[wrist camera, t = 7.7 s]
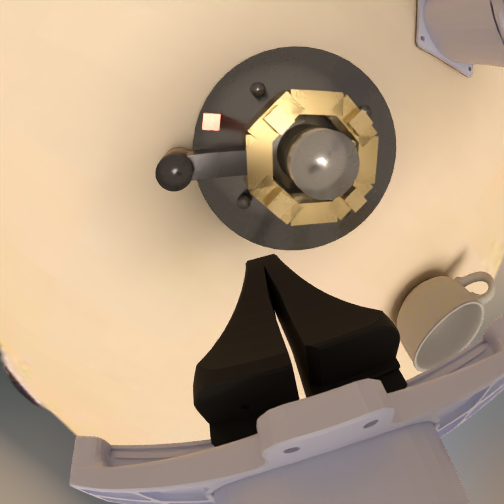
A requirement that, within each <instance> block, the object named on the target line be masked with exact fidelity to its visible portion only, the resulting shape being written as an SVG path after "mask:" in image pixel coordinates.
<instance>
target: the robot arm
mask: <svg viewBox="0 0 504 504" xmlns="http://www.w3.org/2000/svg"><path fill="white" fill-rule="evenodd" d="M421 38H422V40H421ZM416 44H417V46H418V47H419V48H421V49H423V50H424V51H426V52H428V53H430V54H432V55H433V56H435V57H437V58H438V59H440V60H442V61H443V62H445V63H447V64H448V65H450V66H451V67H453V68H454V69H456V70H458V71H459V72H461V73H462V74H463V75H465V76H466V77H472V69H473V64H482V65H492V66H500V67H504V0H418V10H417V35H416ZM468 68H469V69H468ZM275 312H276V315H277V317H278V319H279V322H280V324H281V326H282V329H283V331H284V333H285V335H286V338H287V340H288V342H289V345H290V347H291V350H292V352H293V355H294V359H295V362H296V365H297V368H298V372H299V375H300V378H301V382H302V385H303V388H304V392H305V395H306V398H304V399H301V400H299V395H298V390H297V386H296V381H295V376H294V372H293V367H292V363H291V360H290V357H289V354H288V351H287V348H286V346H285V343H284V340H283V338H282V335H281V332H280V329H279V326H278V323H277V321H276V315H275ZM399 343H400V334H399V331H398V329H397V328H396V326H395V325H394V324H393V322H392V321H391V320H390V319H389V318H388V317H387V316H386V315H385V314H384V313H383V311H380V310H375V309H371V308H366V307H361V306H358V305H355V304H351V303H348V302H345V301H343V300H340V299H338V298H335V297H333V296H331V295H329V294H327V293H325V292H323V291H321V290H319V289H317V288H316V287H314V286H313V285H311V284H309V283H308V282H307V281H305V280H304V279H302V278H301V277H300V276H298V275H297V274H296V273H295V272H293V271H292V270H291V269H290V268H289V267H288V266H286V265H285V264H284V263H283V262H282V261H281V260H280V259H279V258H278V256H277V255H275V254H271V255H268V256H264V257H260V258H257V259H253V260H249V261H247V263H246V272H245V278H244V283H243V287H242V291H241V294H240V297H239V300H238V303H237V305H236V308H235V310H234V313H233V315H232V317H231V319H230V321H229V323H228V325H227V326H226V328H225V330H224V332H223V333H222V335H221V336H220V338H219V339H218V340H217V342H216V343H215V345H214V346H213V347H212V349H211V350H210V351H209V352H208V353H207V354H206V356H205V357H204V358H203V359H202V360H201V361H200V362H199V363H198V364H197V366H196V370H195V376H194V383H193V397H194V406H195V408H196V409H197V411H198V412H199V413H200V414H201V415H202V416H203V417H204V419H205V420H206V421H207V422H208V423H209V424H210V436H211V439H209V440H202V441H193V442H184V443H172V444H156V445H110V444H109V443H108V442H107V441H105V440H104V439H102V438H99V437H91V436H76V440H75V446H74V453H73V459H72V467H71V475H70V486H72V487H74V488H76V489H78V490H81V491H83V492H85V493H88V494H90V495H93V496H95V497H97V498H100V499H103V500H105V501H109V502H116V503H123V504H470V501H469V499H468V496H467V494H466V492H465V489H464V487H463V485H462V482H461V480H460V478H459V476H458V473H457V471H456V469H455V467H454V465H453V463H452V461H451V458H450V456H449V455H448V452H447V450H446V448H445V446H444V444H443V442H442V440H441V437H442V436H444V435H446V434H447V433H449V432H450V431H451V430H453V429H454V428H456V427H457V426H459V425H460V424H461V423H463V422H464V421H465V420H467V419H468V418H469V417H471V416H472V415H473V414H474V413H476V412H477V411H478V410H480V409H481V408H482V407H483V406H484V405H486V404H487V403H488V402H489V401H491V400H492V399H493V398H494V397H495V396H496V395H498V394H499V393H500V392H501V391H502V390H504V314H502V315H501V316H499V317H498V318H497V319H495V320H494V321H492V322H491V323H490V324H489V326H488V327H487V328H486V330H485V332H484V335H483V337H482V338H481V339H479V340H478V341H476V342H475V343H473V344H472V345H470V346H468V347H467V348H465V349H464V350H462V351H460V352H459V353H457V354H455V355H454V356H452V357H450V358H449V359H447V360H445V361H443V362H441V363H440V364H438V365H436V366H434V367H432V368H431V369H429V370H427V371H425V372H423V373H421V374H419V375H417V376H415V377H413V378H411V379H409V380H407V381H405V379H404V377H403V375H402V374H401V372H400V370H399V368H400V364H399V362H398V361H397V359H396V355H397V351H398V347H399Z"/></svg>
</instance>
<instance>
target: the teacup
mask: <svg viewBox="0 0 504 504" xmlns="http://www.w3.org/2000/svg"><path fill="white" fill-rule="evenodd" d="M477 281H484V282H486V283H487V284H488V287H489V288H488V290H487V292H486V293H484V294H482V295H479V294H476V293H473V292H469V291H468V290H467V289H466V288H465V286H467V285H469V284H471V283H473V282H477ZM495 289H496V286H495V282H494V279H493V278H492V276H491V275H489V274H488V273H486V272H475V273H472V274H469V275H467V276H465V277H456V278H455V279H453V278H450V277H447V276H438V277H434V278H431V279H429V280H426V281H424V282H422V283H420V284H419V285H417V286H416V287H415V288H414V289H413V290H412V291H411V292H410V293H409V294H408V295H407V297H406V298H405V300H404V302H403V304H402V306H401V308H400V311H399V313H398V317H397V325H396V326H397V329H398V331H399V334H400V340H401V342H402V344H403V346H404V348H405V350H406V351H407V353H408V355H409V356H410V358H411V359H412V361H413V364H414V367H415V368H416V369H417V370H418V371H421V372H425V371H427V370H429V369H431V368H432V367H434V366H436V365H438V364H440V363H441V362H443V361H445V360H447V359H449V358H450V357H452V356H454V355H455V354H457V353H459V352H460V351H462V350H464V349H465V348H466V347H467V346H468V345H469V344H470V343H471V341H472V340H473V339H474V337H475V336H476V334H477V332H478V331H479V329H480V327H481V325H482V322H483V318H484V307H483V304H485V303H487V302H489V301H490V300H491V299H492V297H493V296H494V294H495Z"/></svg>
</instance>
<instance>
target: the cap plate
mask: <svg viewBox="0 0 504 504" xmlns="http://www.w3.org/2000/svg"><path fill="white" fill-rule="evenodd" d="M290 89H294V90H316V91H330V92H341V93H343V95H348V96H349V98H350V99H351V100H352V101H353V102H354V104H355V105H356V106H357V107H358V108H359V109H363V110H364V111H365V113H366V114H367V115H368V117H369V118H370V119H371V120H372V122H373V124H372V126H373V128H374V129H375V130H376V132H377V134H376V135H375V136H378V137H379V138H378V153H377V165H376V176H375V184H371V185H372V186H373V188H372V189H371V190H370V191H369V192H368V193H367V194H366V195H365V196H364V198H365V199H366V200H367V202H366V203H365V204H364V205H363V206H362V207H361V208H360V209H359V210H358V211H357V212H356V213H355V212H354V211H353V210H352V209H351V210H350V211H349V212H348V213H347V214H346V215H345V216H344V217H343V218H342V219H341V220H340V219H339V218H337V222H330V223H318V224H306V225H295V226H291V225H290V224H289V223H288V224H286V223H285V222H283V221H282V220H281V219H280V218H278V217H277V216H276V215H275V214H274V213H273V212H271V211H270V210H269V209H268V208H267V207H266V206H265V205H264V204H262V203H261V202H260V201H259V200H258V199H256V198H255V197H254V196H253V195H252V194H250V192H249V190H248V188H247V186H246V184H245V181H244V175H242V176H230V177H219V178H209V179H200V180H197V181H198V184H199V187H200V189H201V191H202V194H203V196H204V198H205V200H206V201H207V203H208V204H209V206H210V208H211V209H212V211H213V212H214V213H215V214H216V215H217V217H218V218H219V219H220V220H221V221H222V222H223V223H224V224H225V225H226V226H227V227H229V228H230V229H231V230H232V231H234V232H235V233H237V234H238V235H240V236H241V237H243V238H245V239H247V240H249V241H251V242H253V243H256V244H259V245H261V246H264V247H269V248H273V249H280V250H303V249H310V248H315V247H319V246H322V245H325V244H328V243H330V242H333V241H335V240H337V239H339V238H341V237H343V236H345V235H346V234H348V233H349V232H351V231H352V230H354V229H355V228H356V227H357V226H359V225H360V224H361V223H362V222H363V221H364V220H365V219H366V218H367V217H368V216H369V215H370V214H371V213H372V212H373V210H374V209H375V208H376V206H377V205H378V203H379V202H380V200H381V199H382V197H383V195H384V193H385V191H386V189H387V187H388V184H389V182H390V179H391V176H392V173H393V169H394V163H395V157H396V136H395V129H394V124H393V120H392V117H391V113H390V110H389V108H388V106H387V104H386V102H385V99H384V98H383V96H382V94H381V93H380V91H379V90H378V88H377V87H376V86H375V84H374V83H373V82H372V81H371V80H370V78H369V77H368V76H367V75H366V74H364V73H363V72H362V71H361V70H360V69H359V68H358V67H356V66H355V65H353V64H352V63H350V62H349V61H347V60H345V59H343V58H341V57H339V56H337V55H335V54H333V53H330V52H327V51H324V50H320V49H315V48H309V47H284V48H277V49H273V50H269V51H265V52H262V53H260V54H257V55H255V56H252V57H250V58H248V59H247V60H245V61H243V62H242V63H240V64H238V65H237V66H236V67H234V68H233V69H232V70H231V71H230V72H228V73H227V74H226V75H225V76H224V77H223V78H222V79H221V80H220V81H219V82H218V84H217V85H216V86H215V87H214V89H213V90H212V91H211V93H210V94H209V96H208V98H207V99H206V101H205V103H204V105H203V107H202V109H201V112H200V114H199V117H198V121H197V124H196V127H195V133H194V140H193V150H201V149H211V148H222V147H234V146H242V132H243V131H246V130H245V129H244V128H243V127H244V126H245V125H246V124H247V123H248V122H249V121H250V120H251V119H252V118H253V117H254V116H255V115H256V114H257V113H258V112H259V111H260V110H261V109H262V108H263V107H264V106H265V105H266V104H267V103H268V102H269V101H270V100H271V99H272V98H273V97H274V96H275V95H276V94H277V93H278V92H282V90H290ZM294 120H295V122H294V123H293V124H292V125H291V126H290V127H289V128H288V129H287V130H286V131H285V132H284V133H283V134H282V135H280V134H279V135H278V136H277V138H276V139H275V140H274V141H273V142H272V158H273V178H274V179H275V180H276V181H277V182H278V183H279V184H280V185H281V186H282V187H284V188H285V189H286V190H287V191H288V192H289V193H305V194H306V195H308V196H310V197H312V198H314V199H318V200H330V199H334V198H337V197H339V196H341V195H343V194H344V193H345V192H347V191H348V190H349V189H350V188H351V186H352V185H353V184H354V182H355V180H356V178H357V175H358V172H359V166H360V161H359V154H358V151H357V149H356V147H355V145H354V143H353V142H352V141H351V140H350V139H349V138H348V137H347V136H346V135H344V134H342V133H340V131H339V130H338V129H337V128H336V127H335V126H334V125H333V123H332V122H331V121H330V120H329V119H328V118H327V117H326V116H325V115H311V114H299V115H298V116H297V117H296V118H295V119H294Z"/></svg>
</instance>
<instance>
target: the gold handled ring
mask: <svg viewBox="0 0 504 504" xmlns="http://www.w3.org/2000/svg"><path fill="white" fill-rule="evenodd" d="M299 114H311V115H325V116H326V117H327V118H328V119H329V120H330V121H331V122H332V123H333V125H334V126H335V127H336V128H337V129H338V130H339V131H340V133H342V134H344V135H346V136H347V137H348V138H349V139H350V140H351V141H352V142H353V143H354V145H355V147H356V149H357V151H358V154H359V161H360V166H359V172H358V175H357V178H356V180H355V182H354V184H353V185H352V186H351V188H350V189H349V190H348V191H347V192H345V193H344V194H343V195H341V196H339V197H337V198H334V199H330V200H318V199H314V198H312V197H310V196H308V195H306V194H305V193H289V192H288V191H287V190H286V189H285V188H284V187H282V186H281V185H280V184H279V183H278V182H277V181H276V180H275V179H274V178H273V158H272V142H273V141H274V140H275V139H276V138H277V136H278V135H279V134H280V135H282V134H283V133H284V132H285V131H286V130H287V129H288V128H289V127H290V126H291V125H292V124H293V123H294V122H295V120H294V119H295V118H296V117H297V116H298V115H299ZM372 124H373V122H372V120H371V119H370V118H369V117H368V115H367V114H366V113H365V111H364V110H363V109H359V108H358V107H357V106H356V105H355V104H354V102H353V101H352V100H351V99H350V98H349V96H348V95H343V93H341V92H330V91H316V90H294V89H290V90H282V92H278V93H277V94H276V95H275V96H274V97H273V98H272V99H271V100H270V101H269V102H268V103H267V104H266V105H265V106H264V107H263V108H262V109H261V110H260V111H259V112H258V113H257V114H256V115H255V116H254V117H253V118H252V119H251V120H250V121H249V122H248V123H247V124H246V125H245V126H244V127H243V128H244V129H245V130H246V131H243V132H242V146H234V147H222V148H211V149H201V150H192V151H188V150H186V149H184V148H174V149H171V150H170V151H168V152H167V153H166V154H165V156H164V157H163V158H162V160H161V161H160V162H159V164H158V165H157V168H156V179H157V181H158V183H159V184H160V185H161V186H162V187H163V188H164V189H166V190H169V191H179V190H182V189H184V188H185V187H186V186H187V185H188V184H189V183H190V181H191V180H200V179H209V178H219V177H230V176H242V175H244V181H245V184H246V186H247V188H248V190H249V192H250V194H252V195H253V196H254V197H255V198H256V199H258V200H259V201H260V202H261V203H262V204H264V205H265V206H266V207H267V208H268V209H269V210H270V211H271V212H273V213H274V214H275V215H276V216H277V217H278V218H280V219H281V220H282V221H283V222H285V223H286V224H288V223H289V224H290V225H291V226H295V225H306V224H318V223H330V222H337V218H339V219H340V220H341V219H342V218H343V217H344V216H345V215H346V214H347V213H348V212H349V211H350V210H351V209H352V210H353V211H354V212H355V213H356V212H357V211H358V210H359V209H360V208H361V207H362V206H363V205H364V204H365V203H366V202H367V200H366V199H365V198H364V196H365V195H366V194H367V193H368V192H369V191H370V190H371V189H372V188H373V186H372V185H371V184H375V176H376V165H377V153H378V138H379V137H378V136H375V135H376V134H377V132H376V130H375V129H374V128H373V126H372Z"/></svg>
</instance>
